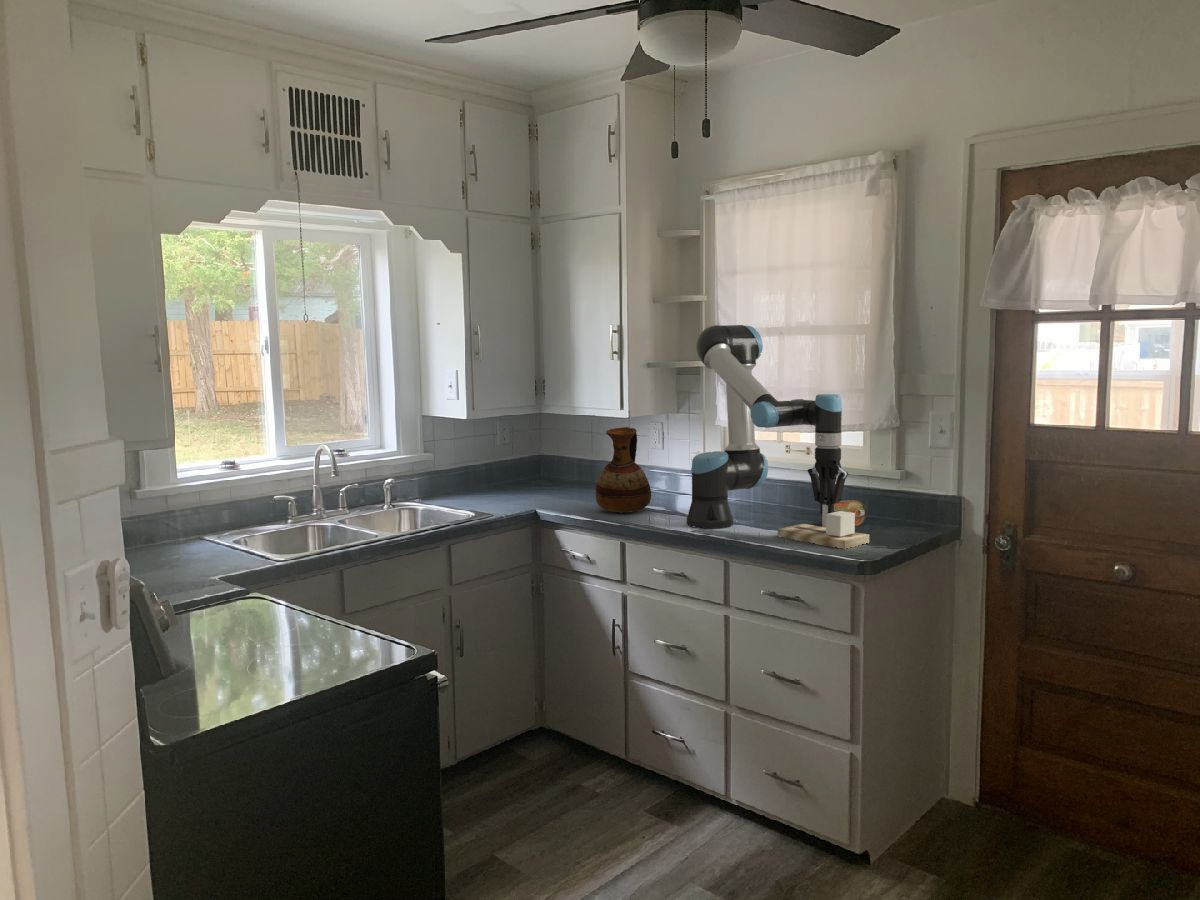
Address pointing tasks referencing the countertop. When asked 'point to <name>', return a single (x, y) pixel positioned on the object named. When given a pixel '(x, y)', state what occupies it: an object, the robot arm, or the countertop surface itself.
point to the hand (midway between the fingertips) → (827, 525)
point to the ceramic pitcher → (623, 476)
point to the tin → (852, 509)
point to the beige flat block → (822, 536)
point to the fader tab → (840, 523)
